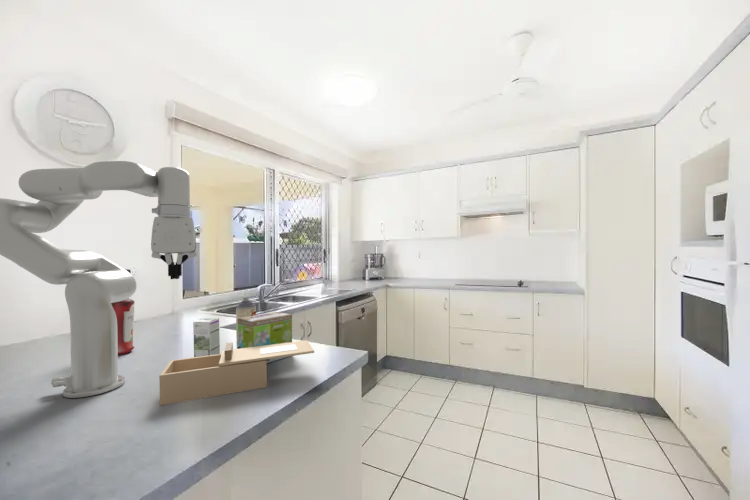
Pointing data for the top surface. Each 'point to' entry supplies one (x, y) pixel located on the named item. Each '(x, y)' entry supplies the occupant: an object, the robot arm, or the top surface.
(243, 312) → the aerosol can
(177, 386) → the mailer box
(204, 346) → the syrup box
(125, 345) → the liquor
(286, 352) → the mailer lid
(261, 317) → the tea box
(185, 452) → the top surface
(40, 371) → the top surface
